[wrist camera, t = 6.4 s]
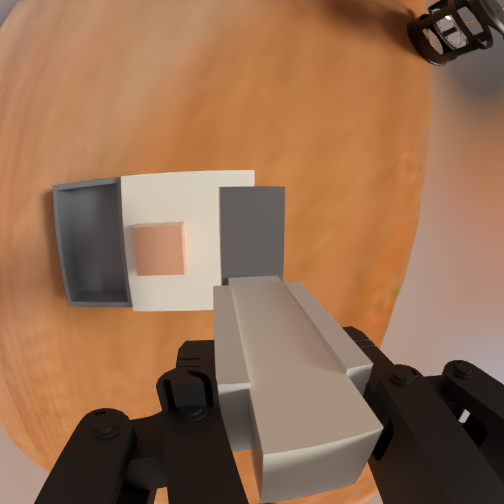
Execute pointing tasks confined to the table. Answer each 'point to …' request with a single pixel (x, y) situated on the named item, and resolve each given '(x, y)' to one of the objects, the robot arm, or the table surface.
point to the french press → (455, 29)
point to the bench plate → (196, 234)
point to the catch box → (92, 243)
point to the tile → (160, 248)
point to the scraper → (287, 362)
